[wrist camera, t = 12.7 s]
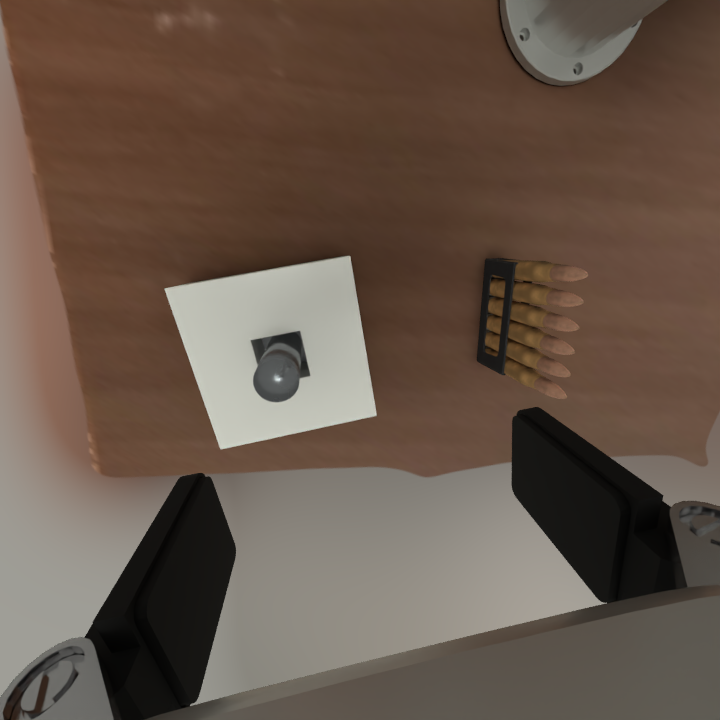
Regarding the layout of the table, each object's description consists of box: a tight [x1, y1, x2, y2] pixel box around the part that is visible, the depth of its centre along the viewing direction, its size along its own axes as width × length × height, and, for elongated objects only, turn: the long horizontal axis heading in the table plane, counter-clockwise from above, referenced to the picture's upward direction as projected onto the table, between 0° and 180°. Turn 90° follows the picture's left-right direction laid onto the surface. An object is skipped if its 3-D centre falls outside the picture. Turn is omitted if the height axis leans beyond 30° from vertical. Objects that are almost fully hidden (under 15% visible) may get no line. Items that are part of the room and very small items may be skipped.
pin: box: [253, 332, 302, 402], centre depth 27 cm, size 3×3×10 cm
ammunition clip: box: [477, 258, 588, 399], centre depth 29 cm, size 11×2×12 cm, turn 2°
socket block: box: [165, 256, 377, 449], centre depth 30 cm, size 14×14×6 cm
